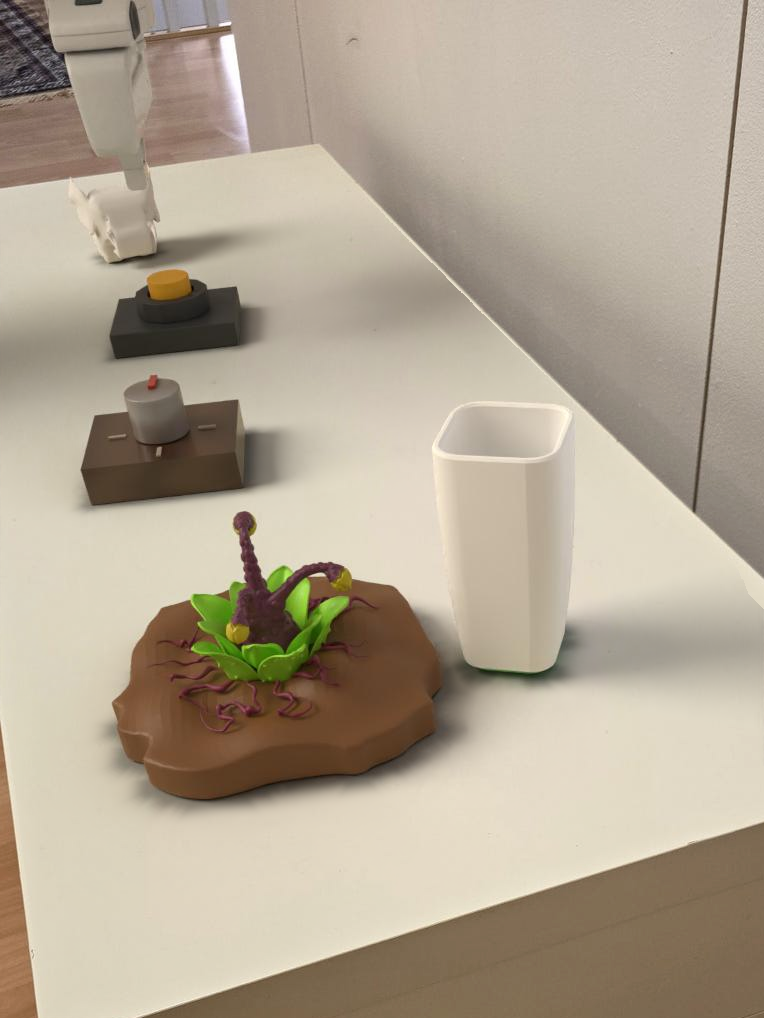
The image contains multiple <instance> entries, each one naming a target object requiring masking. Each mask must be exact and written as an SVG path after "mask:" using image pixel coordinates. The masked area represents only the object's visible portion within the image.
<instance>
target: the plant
mask: <svg viewBox="0 0 764 1018" xmlns="http://www.w3.org/2000/svg"><path fill="white" fill-rule="evenodd" d="M256 520H257V519H256V517H255V516H254V515H253V514H252V513H251V512H249V511H246V510H243V511H239V512H236V514H235V515H234V517H233V518H232V523H231V524H232V529H233V531H234V533H235V534H236V535H238V538H239V541H238V543H239V547H240V548H241V553H240V560H241V562H243V567H242V570H243V572H244V575H243V580H244V582H239V581H237V580H235V581H231V582H230V585H229V589H227V590H224V591H222V592H220V593H216V594H211V593H210V594H209V593H192V594H191V596H190V599H187V600H185V601H184V600H183V601H181V602H178V603H175V604H171V605H170V604H169V605H166V606H163V607H161V608H160V609H159V611H158V612H157V614H156V615H155V616H154V617H153V618H152V620H150V622H149V623H148V625H147V626H146V628H145V631H144V633H143V635H142V636H141V637H140V639H139V640H137V642H136V643H135V646H134V647H133V650H132V653H131V657H130V667H129V668H130V670H129V671H130V672H129V682H128V684H127V686H126V688H125V689H124V690H123V691H122V692H121V694H119V695H118V696H117V697H115V698H114V699H113V700H112V701H111V706H112V709H113V713H114V715H115V718H116V721H117V724H116V730H117V734H118V737H119V739H120V741H121V746H122V748H123V750H124V754H125V756H126V757H127V759H129V760H130V761H133V762H136V763H141V764H143V765H144V768H145V772H146V773H147V776H148V780H149V782H150V784H151V785H152V787H154V788H156V789H158V790H161V791H163V792H165V793H167V794H171V795H174V796H178V797H182V798H188V799H194V800H210V799H216V798H222V797H223V798H224V797H227V796H231V795H235V794H240V793H242V792H246V791H249V790H252V789H255V788H258V787H261V786H264V785H268V784H273V783H278V782H284V781H290V780H297V779H304V778H311V777H312V778H313V777H317V776H318V777H319V776H326V775H359V774H364V773H365V772H367V771H368V770H370V769H372V768H374V767H375V766H377V765H379V764H382V763H385V762H388V761H390V760H393V759H395V758H397V757H399V756H401V755H402V754H404V752H406V751H407V750H408V749H409V748H410V747H412V746H413V745H414V744H415V743H417V742H419V741H420V740H422V739H424V738H426V737H427V736H429V735H432V734H433V733H435V731H436V730H437V724H436V723H437V722H436V717H435V716H436V715H435V708H434V702H433V700H432V698H433V696H434V695H435V694H436V693H437V692H438V691H439V690H440V689H441V688H442V685H443V670H442V662H441V657H440V654H439V651H438V649H437V648H436V647H435V645H434V644H433V642H432V641H431V640H430V638H429V635H428V634H427V632H426V631H425V629H424V627H423V626H422V623H421V621H420V620H419V619H418V617H417V614H416V613H415V612H414V610H413V608H412V606H411V604H410V603H409V601H408V600H407V599H406V598H405V596H404V595H403V594H402V593H401V592H400V591H399V590H398V588H396V587H395V586H394V585H391V584H384V583H377V582H371V581H365V580H360V579H355V578H353V576H352V573H351V571H350V570H349V569H348V568H347V567H345V566H344V565H342V564H339V563H336V562H335V563H334V562H333V561H327V562H322V561H318V562H317V563H315V562H313V563H311V564H304V565H303V566H302V567H300V568H299V569H296V570H294V571H293V570H292V569H291V568H290V567H289V566H287V565H285V564H282V565H280V566H279V567H277V568H275V569H274V570H273V571H272V572H270V574H269V575H268V576H267V578H264V577H263V575H262V568H261V567H260V565H259V560H258V557H257V555H256V554H255V545H254V544H253V543H252V540H251V536H253V535H254V534H255V533H256V531H257V528H258V524H257V521H256ZM321 573H322V574H324V576H323V575H322V576H321V575H319V576H314V575H316V574H321ZM312 575H313V576H312Z"/></svg>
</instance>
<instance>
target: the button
mask: <svg viewBox="0 0 764 1018" xmlns="http://www.w3.org/2000/svg"><path fill="white" fill-rule="evenodd" d="M189 279H190V277H189V273H188V272H187V271H186V270H184V269H165V270H159V271H156V272H153V273H152V274H150V275H148V276H147V277H146V283H147V284H146V285H148V288H149V292H150V296H151V299H155V300H170V299H176V298H180V297H183V296H186V295H188V294H190V293H191V292H192V290H191V285H190V281H189Z"/></svg>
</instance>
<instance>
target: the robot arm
mask: <svg viewBox="0 0 764 1018" xmlns="http://www.w3.org/2000/svg"><path fill="white" fill-rule="evenodd" d="M43 3H44V7H45V11H46V16H47V19H48V29H49V34H50V37H51V42H52V45H53V48H54V50H55V52H57V53H64V62H65V68H66V70H67V75H68V78H69V82H70V85H71V88H72V91H73V94H74V99H75V101H76V104H77V108H78V111H79V114H80V118H81V121H82V124H83V126H84V129H85V133H86V136H87V139H88V141H89V143H90V146H91V147H92V150H93V152H94V154H95V155H96V156H97V157H98V158H101V159H103V158H104V159H106V158H118V161H119V163H120V165H121V168H122V170H123V174H124V179H125V183H127V187H128V188H129V189H130V190H132V191H136V190H144V189H146V187H147V184H148V180H149V172H148V167H147V164H148V162H147V156H146V145H145V144H146V143H145V135H144V131H145V127H146V124H147V121H148V117H149V115H150V110H151V107H152V104H153V101H154V100H153V99H154V97H153V88H152V82H151V77H150V73H149V68H148V63H147V60H146V55H145V51H146V49H147V42H146V38H145V32H146V31H148V30H150V29H152V28H154V27H155V26H156V25H157V17H156V12H155V7H154V1H153V0H43Z"/></svg>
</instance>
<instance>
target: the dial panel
mask: <svg viewBox="0 0 764 1018" xmlns="http://www.w3.org/2000/svg"><path fill="white" fill-rule="evenodd" d="M184 406H185V410H186V415H187V419H188V423H189V431H188V433H187V434H186V435H185V436H183V437H182V438H180V439H178V440H175V441H172V442H168V443H164V444H145V443H141V442H139V441H138V440H136V438H135V436H134V432H133V429H132V425H131V421H130V417H129V414H128V411H121V412H112V413H103V414H95V415H93V419H92V424H91V427H90V431H89V435H88V439H87V443H86V448H85V451H84V455H83V459H82V464H81V467H80V473H81V476H82V480H83V483H84V486H85V490H86V492H87V496H88V498H89V502H90V505H91V506H97V505H104V504H113V503H123V502H129V501H130V502H131V501H140V500H147V499H149V500H150V499H156V498H165V497H166V498H167V497H173V496H182V495H192V494H199V493H201V494H202V493H210V492H219V491H226V490H235V489H243V488H244V473H245V472H244V470H245V452H246V451H245V449H246V429H245V424H244V419H243V415H242V411H241V410H242V409H241V404H240V400H239V399H238V398H237V399H228V400H227V399H226V400H219V401H209V402H202V403H192V404H184Z"/></svg>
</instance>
